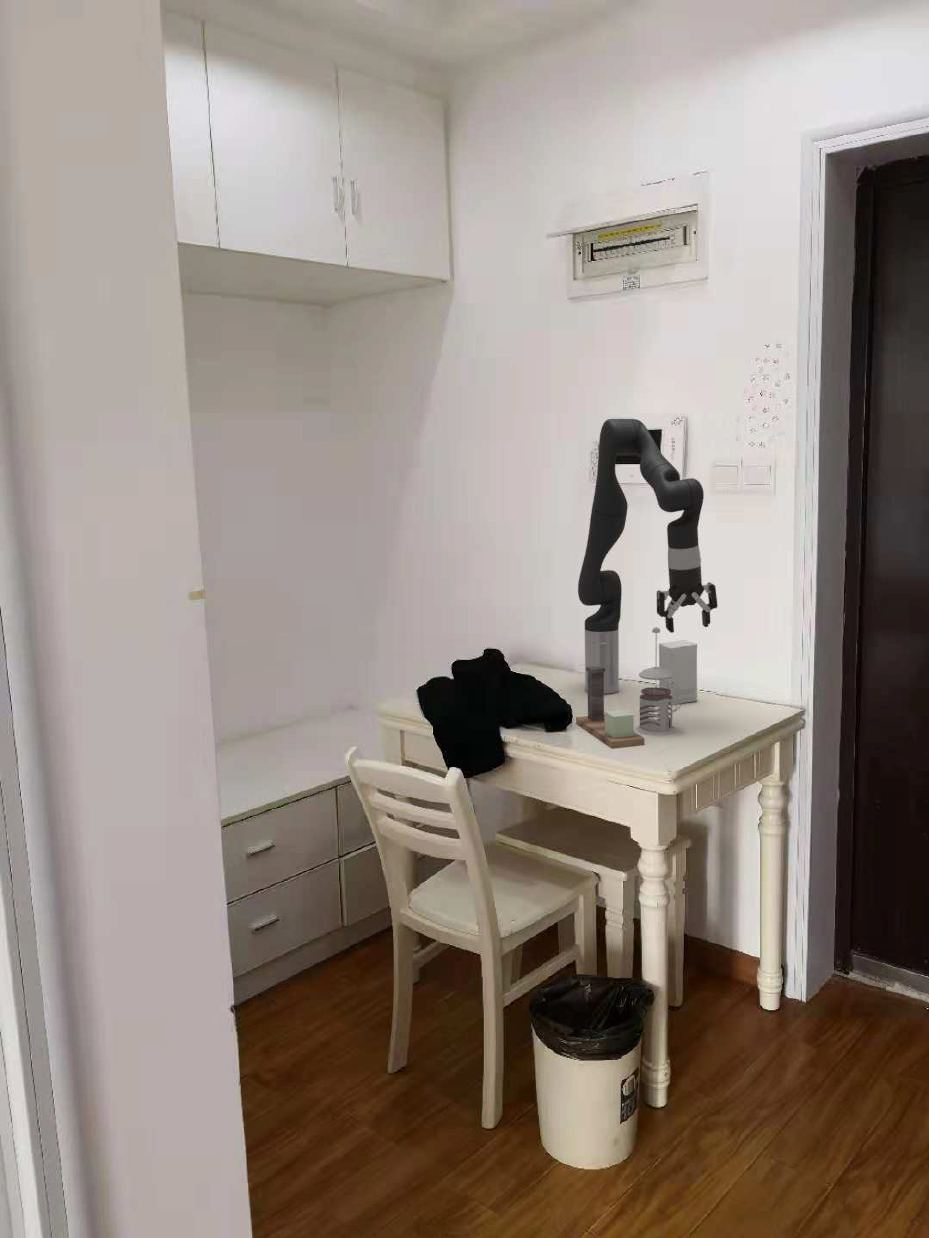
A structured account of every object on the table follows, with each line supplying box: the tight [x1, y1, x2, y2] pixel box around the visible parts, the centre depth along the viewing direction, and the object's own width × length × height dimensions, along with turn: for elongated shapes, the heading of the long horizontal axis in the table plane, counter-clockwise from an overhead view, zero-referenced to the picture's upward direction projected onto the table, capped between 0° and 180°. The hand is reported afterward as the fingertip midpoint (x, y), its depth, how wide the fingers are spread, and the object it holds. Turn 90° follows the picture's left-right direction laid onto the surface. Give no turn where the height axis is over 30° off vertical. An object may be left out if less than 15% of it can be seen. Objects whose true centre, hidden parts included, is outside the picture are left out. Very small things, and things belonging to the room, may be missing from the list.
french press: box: [635, 626, 683, 736], centre depth 247 cm, size 10×12×25 cm
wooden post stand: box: [575, 665, 645, 749], centre depth 246 cm, size 22×8×14 cm, turn 15°
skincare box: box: [658, 639, 698, 706], centre depth 275 cm, size 8×7×16 cm
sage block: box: [604, 709, 635, 738], centre depth 241 cm, size 5×5×5 cm
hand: (688, 628), depth 252 cm, fingers open, 8 cm apart
